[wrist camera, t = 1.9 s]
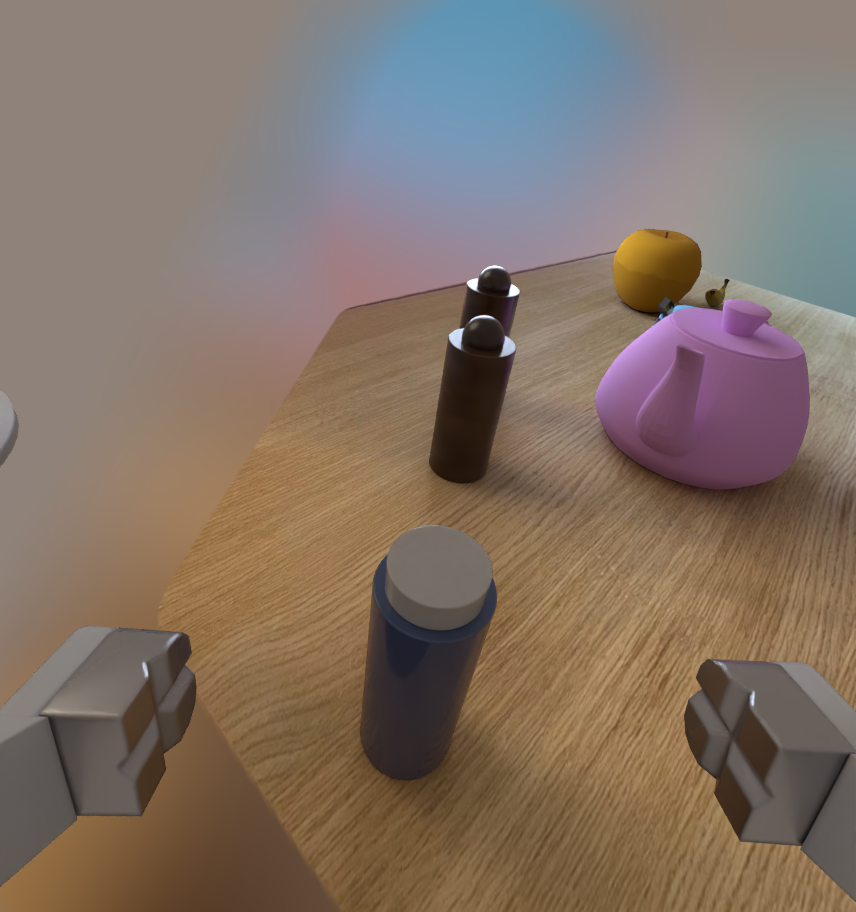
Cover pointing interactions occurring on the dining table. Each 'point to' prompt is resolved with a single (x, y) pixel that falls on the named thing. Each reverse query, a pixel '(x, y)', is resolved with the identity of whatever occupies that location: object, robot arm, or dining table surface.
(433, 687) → the blue shaker
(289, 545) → the dining table surface
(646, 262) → the apple
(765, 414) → the teapot
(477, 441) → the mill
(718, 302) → the banana
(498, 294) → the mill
